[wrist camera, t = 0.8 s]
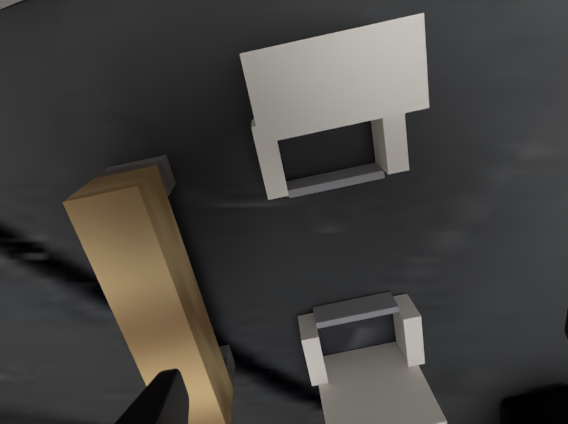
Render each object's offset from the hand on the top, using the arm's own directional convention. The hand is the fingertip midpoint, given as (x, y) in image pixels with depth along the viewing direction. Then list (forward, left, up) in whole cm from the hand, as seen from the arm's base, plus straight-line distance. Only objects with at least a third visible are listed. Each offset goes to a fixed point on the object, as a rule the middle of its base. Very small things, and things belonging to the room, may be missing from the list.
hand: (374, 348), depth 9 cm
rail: (-4, +8, -13) cm, 16 cm away
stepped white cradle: (-4, -1, -13) cm, 13 cm away
